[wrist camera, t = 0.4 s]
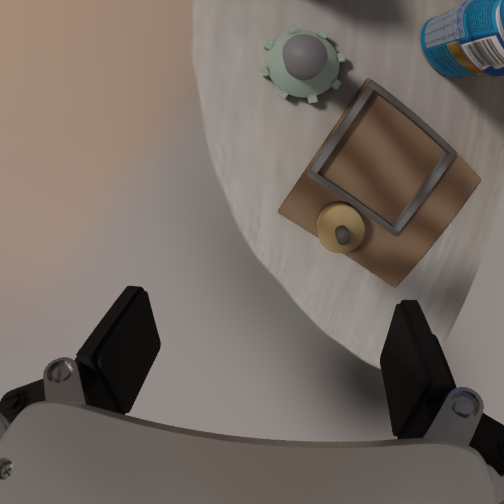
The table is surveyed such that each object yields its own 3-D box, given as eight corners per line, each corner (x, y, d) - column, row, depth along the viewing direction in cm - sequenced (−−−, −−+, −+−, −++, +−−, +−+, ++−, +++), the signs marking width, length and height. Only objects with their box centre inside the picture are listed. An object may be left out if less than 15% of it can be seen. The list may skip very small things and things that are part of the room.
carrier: (366, 78, 31) (379, 75, 25) (477, 176, 33) (500, 190, 28) (278, 210, 40) (275, 228, 34) (393, 284, 42) (403, 308, 37)
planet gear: (287, 15, 28) (285, -9, 20) (357, 56, 30) (376, 44, 22) (246, 77, 33) (232, 71, 25) (316, 118, 34) (322, 123, 26)
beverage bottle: (410, 14, 25) (496, -36, 8) (465, 21, 24) (564, -6, 6) (423, 77, 29) (525, 71, 12) (477, 80, 27) (585, 89, 10)
